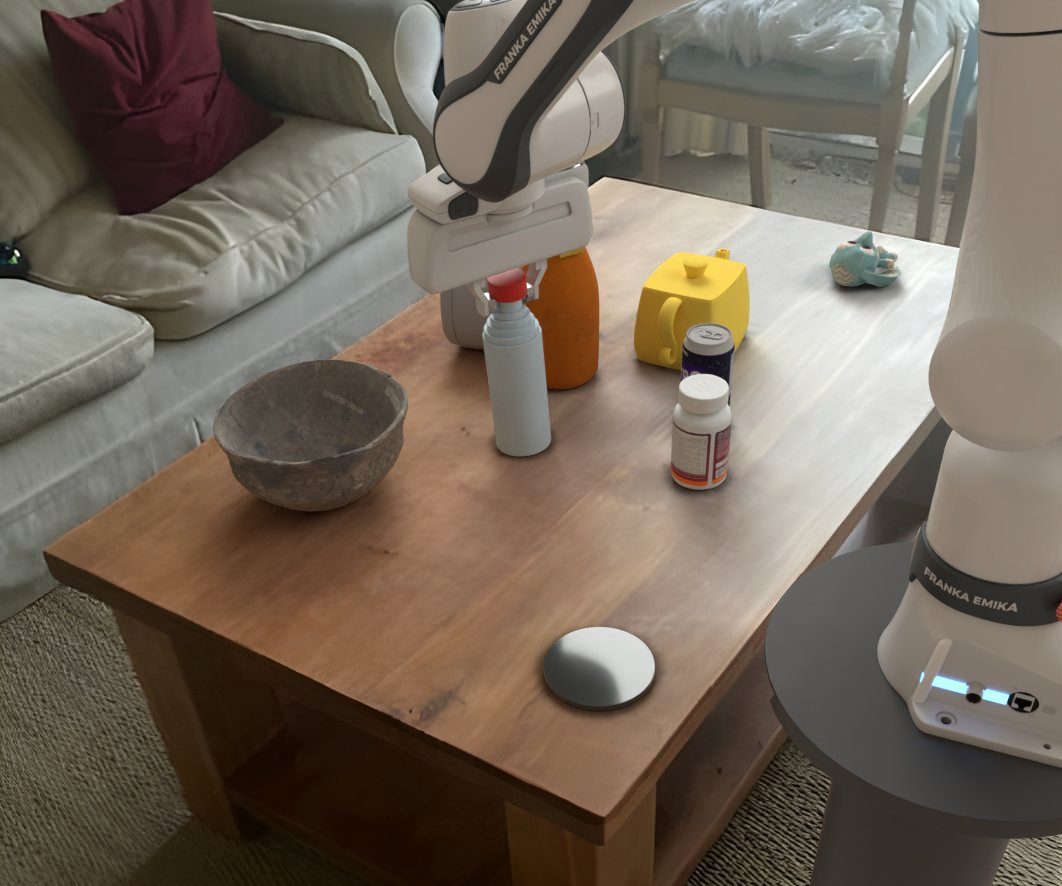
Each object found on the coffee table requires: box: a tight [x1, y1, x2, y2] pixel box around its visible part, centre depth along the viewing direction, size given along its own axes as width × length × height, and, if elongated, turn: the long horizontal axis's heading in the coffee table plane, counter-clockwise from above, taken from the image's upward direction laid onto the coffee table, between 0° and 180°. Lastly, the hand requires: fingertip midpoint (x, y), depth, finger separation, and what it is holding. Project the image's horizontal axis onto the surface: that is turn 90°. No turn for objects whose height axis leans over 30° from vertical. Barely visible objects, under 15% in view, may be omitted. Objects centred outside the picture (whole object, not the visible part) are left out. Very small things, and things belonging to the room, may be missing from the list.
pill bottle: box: [670, 374, 733, 491], centre depth 117 cm, size 6×6×11 cm
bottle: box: [482, 299, 552, 457], centre depth 120 cm, size 6×6×20 cm
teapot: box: [633, 247, 751, 372], centre depth 139 cm, size 20×12×12 cm, turn 150°
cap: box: [487, 269, 528, 303], centre depth 114 cm, size 4×4×2 cm
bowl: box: [212, 358, 409, 512], centre depth 119 cm, size 21×21×10 cm
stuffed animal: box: [828, 230, 901, 288], centre depth 152 cm, size 11×7×12 cm
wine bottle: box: [521, 246, 600, 390], centre depth 128 cm, size 10×10×30 cm
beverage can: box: [680, 323, 735, 408], centre depth 124 cm, size 6×6×12 cm
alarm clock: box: [439, 267, 522, 350], centre depth 143 cm, size 21×10×13 cm, turn 164°
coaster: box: [543, 626, 656, 712], centre depth 98 cm, size 10×10×1 cm
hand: (507, 306), depth 116 cm, fingers closed on cap, 4 cm apart
